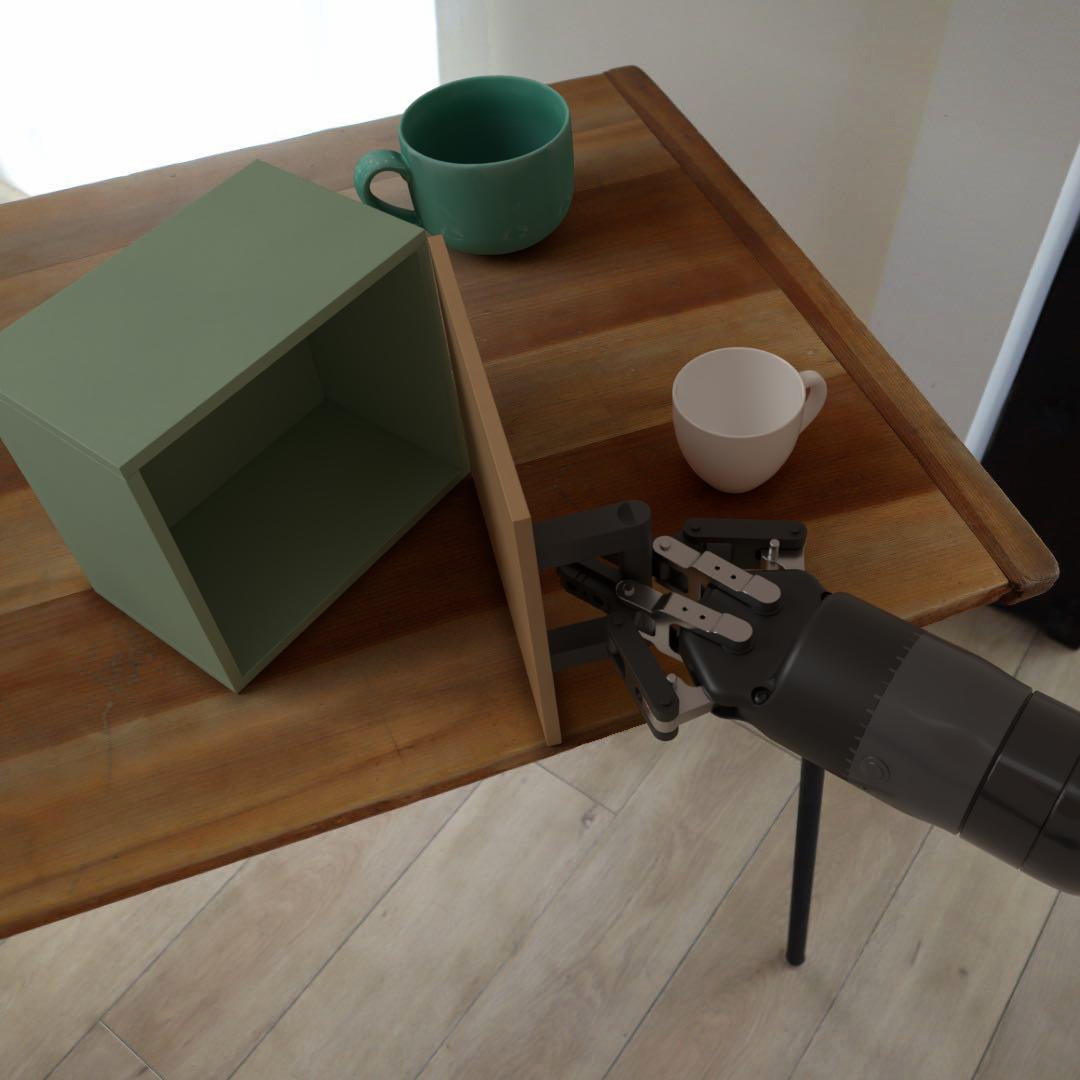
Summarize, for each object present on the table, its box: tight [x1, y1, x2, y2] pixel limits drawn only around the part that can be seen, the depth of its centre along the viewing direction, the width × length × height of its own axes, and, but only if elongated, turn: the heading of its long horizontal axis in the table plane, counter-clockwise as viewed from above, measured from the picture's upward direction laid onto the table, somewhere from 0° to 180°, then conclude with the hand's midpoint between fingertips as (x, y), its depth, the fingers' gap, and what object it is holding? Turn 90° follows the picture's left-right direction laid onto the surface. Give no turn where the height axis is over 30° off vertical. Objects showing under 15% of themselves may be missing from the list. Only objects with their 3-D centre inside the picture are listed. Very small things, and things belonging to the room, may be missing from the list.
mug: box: [353, 74, 575, 256], centre depth 89 cm, size 17×13×10 cm
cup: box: [671, 346, 828, 494], centre depth 72 cm, size 8×10×7 cm
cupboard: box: [0, 158, 471, 695], centre depth 67 cm, size 13×21×19 cm, turn 142°
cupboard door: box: [427, 234, 654, 747], centre depth 62 cm, size 7×21×18 cm, turn 13°
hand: (574, 544), depth 59 cm, fingers closed on cupboard door
